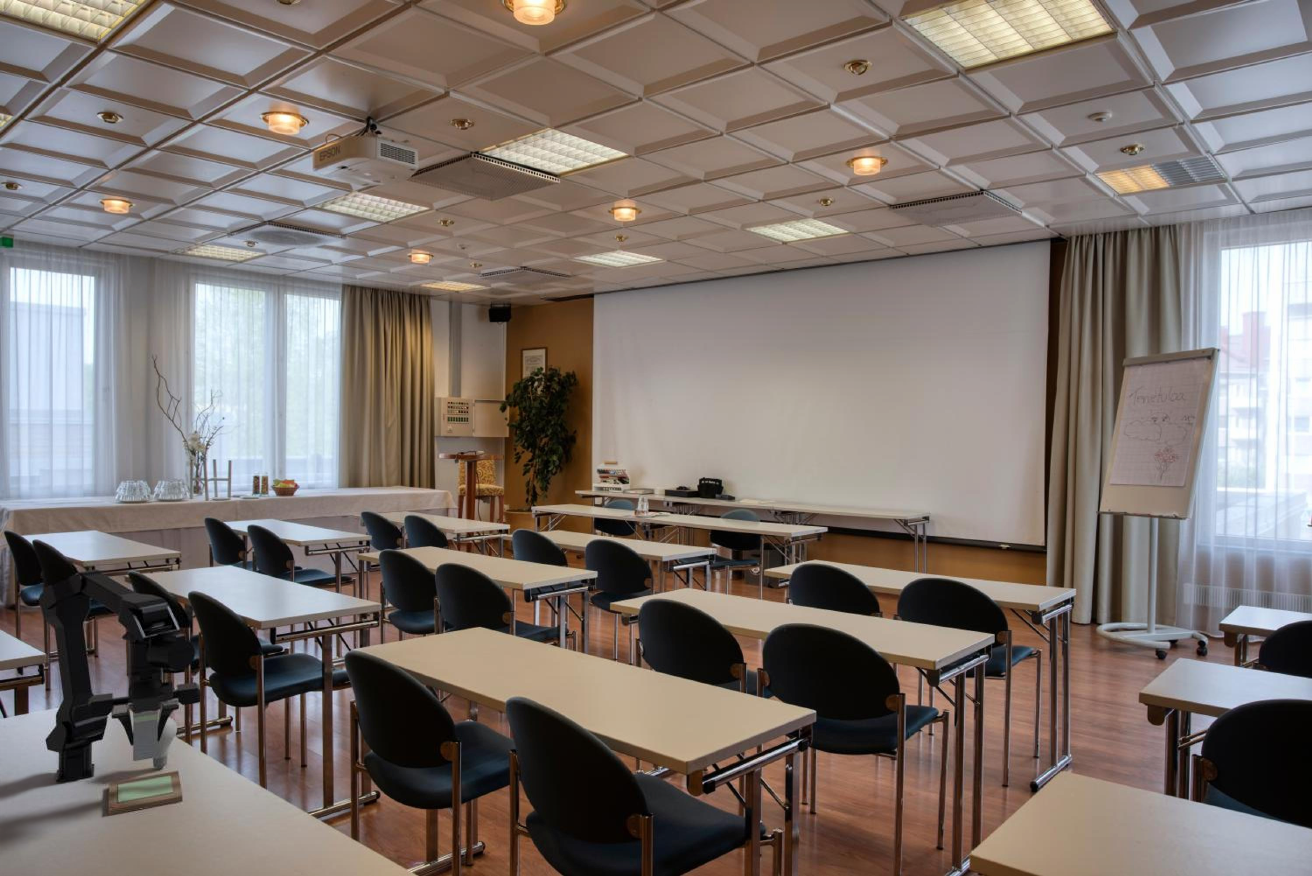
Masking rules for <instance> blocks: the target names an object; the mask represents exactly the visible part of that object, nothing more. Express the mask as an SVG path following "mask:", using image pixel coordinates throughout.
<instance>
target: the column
mask: <svg viewBox="0 0 1312 876" xmlns="http://www.w3.org/2000/svg"><path fill="white" fill-rule="evenodd" d="M158 716H159V710H157V711H145V712H141V713H133V712H132V729H133V746H132V759H133V760H132V761H133V762H138V761H143V760H144V761H145V760H149V759H153V758H156V757H157V739H158Z"/></svg>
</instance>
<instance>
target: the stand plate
mask: <svg viewBox="0 0 1312 876" xmlns="http://www.w3.org/2000/svg"><path fill="white" fill-rule="evenodd" d="M108 784H109V785H108V787H109V788H108V816H113V815H118V814H119V815H120V814H124V813H125V814H126V813H128V811H130V812H132V811H131V810H135V811H138V810H137V809H140V808H145V807H146V808H145V809H148V808H147V807H150V808H154V807H153V806H155V807H159V805H161V806H165V804H166V805H169V803H171V804H174V803H175V804H176V803H180V802H183V791H182V786H181V785H182V783H181V778H180V774H179V770H175V771H169V772H163V773H158V774H151V775H147V776H141V777H136V778H130V779H123V780H118V781H112V782H109V783H108ZM140 810H141V809H140Z"/></svg>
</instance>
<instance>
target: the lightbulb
mask: <svg viewBox="0 0 1312 876" xmlns="http://www.w3.org/2000/svg"><path fill="white" fill-rule="evenodd" d="M158 720H159V715H158ZM177 732H178V726H177V723H176V721H175V720H174V719H173V718H172V717H170V716H169V718H168V720H167V722H166V724H165V727H164V730H163V733H162V735H161V738H160V741H158V742H157V757H156V758H152V764H153V765H152V766H153V767H154V768H157V769H158V770H160V769H163V768H164V767H166V766H167V765H168V757H169V754H170V748H171V744H172V742H173V741H174V739H175V737H176V734H177Z"/></svg>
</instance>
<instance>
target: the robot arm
mask: <svg viewBox="0 0 1312 876" xmlns="http://www.w3.org/2000/svg"><path fill="white" fill-rule="evenodd" d="M91 600H94V601H95V602H97V603H99V604H101V605H102V606H104V607H106V608H107V609H109V610H111V611H112V612H113V613H115V614H117V619H118V620H117V622H118V623H120V625H122V626H123V627H124V628H125V629H126V631H127V632H125V633H124V634H123V635H122V637H121V639H122V640H123V641H125V640H126V641H128V691H127V692H128V695H127V696H120V697H119V696H118V697H114V693H113V692H112V693H111V692H110V693H103V694H94V693H93V690H92V689H93V687H92V682H91V674H90V667H89V666H90V665H89V658H88V657H89V656H88V651H87V644H86V636H85V635H86V633H85V628H84V623H85V621H86V619H87V617H88V615H89V613H90V611H91ZM38 604H39V607H40V608H41V613H42V617H43V619H44V620H45V621H46V622H47V623H48V624H49V625H50V626H51V627H52V628H53V630H54V636H55V643H56V644H55V645H56V649H57V651H56V652H57V659H58V666H59V674H60V675H59V676H60V683H61V691H62V701H61V704H59V707H58V709H57V711H56V714H55V726H54V728H53V729H52V730H51V731H50V733H49V734H48V735H47V737H46V738H45V744H46V750H48V751H50V752H54V753H58V767H57V768H58V769H56V773H55V778H54V779H55V780H54V783H61V782H68V781H73V780H79V779H85V778H90V777H93V776H94V775H95V763H93V758H92V757H93V743H95V742H99V741H102V740H103V739H104V736H105V733H106V728H107V724H108V719H109V717H108V716H109V715H110V714H111V715H110V717H111V719H113V720H114V719H116V720H118V721H120V724H121V725H122V726H123V729H124V731H125V734H126V737H127V739H128V741H129V744H130V746H131V747H133V722H132V716H131V712H132V714H133V713H141V712H145V711H157V710H158V716H159V720H158V739H157V742H158V741H160V738H161V735H162V733H163V730H164V727H165V724H166V722H167V720H168V718H169V717H170V716H171V715H172V713H173V711H177V710H179V708H180V706H179V703H180V705H182V706H185V705H194V704H199V703H201V696H202V695H201V688H200V685H199V683H197V682H187V683H182V684H180V683H179V684H176V689H173V688H174V686H173V685H174V683H173V681H165V682H163V679H164V677H163V676H164V675H163V674H164V673H163V672H164V670H163V669H165V670H171V671H175V672H180V671H183V670H185V669H187V668H188V667H189V666H191V664H192V663H193V661H194V658H195V656H196V649H195V648H194V645H193V644H192V643H191V642H190V641H188V640H186V634H185V633H181V629H180V626H179V621H178V620H177V619H176V617H175V615H174V613H173V612H172V611H173V610H172V609H171V608H170V605H169V603H168V602H167V601H166V600H165V598H164V597H161V596H156V595H154V594H147V593H146V594H145V593H138V592H135V591H134V590H132V589H130V588H128V587H126V586H125V585H123V584H121V583H120V582H117V581H116V580H114V579H112V578H111V577H109V576H107V575H105V573H104V571H102V570H99V569H90V570H83V571H78V572H75V574H72V575H70V576H69V577H68V578H66V579H63V580H62V581H59V582H57V583H54V584H52V585H48V586H46V587H45V588H44V589H43V590H42V592H41V593H40V594H39V596H38ZM130 707H131V709H130Z"/></svg>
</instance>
